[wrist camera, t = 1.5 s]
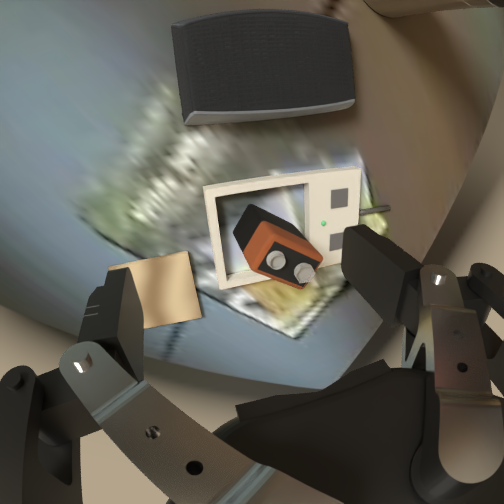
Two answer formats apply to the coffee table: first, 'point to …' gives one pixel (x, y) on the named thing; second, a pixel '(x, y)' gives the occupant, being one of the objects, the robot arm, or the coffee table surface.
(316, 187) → the charging dock
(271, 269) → the battery
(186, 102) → the external hard drive
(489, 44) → the coffee table surface
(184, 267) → the cork pad
